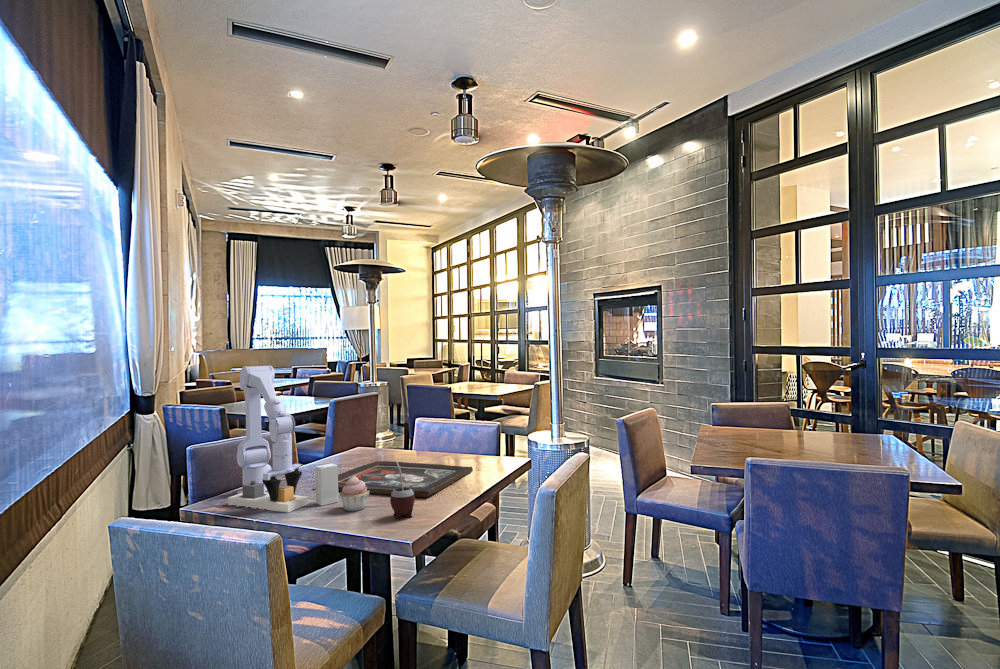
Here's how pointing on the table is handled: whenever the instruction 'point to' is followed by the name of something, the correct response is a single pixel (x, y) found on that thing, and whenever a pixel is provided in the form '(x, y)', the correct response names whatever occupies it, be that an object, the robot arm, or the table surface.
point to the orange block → (285, 493)
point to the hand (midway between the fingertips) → (282, 497)
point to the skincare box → (326, 484)
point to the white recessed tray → (268, 502)
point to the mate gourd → (402, 500)
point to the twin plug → (253, 490)
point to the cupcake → (354, 495)
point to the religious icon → (404, 477)
